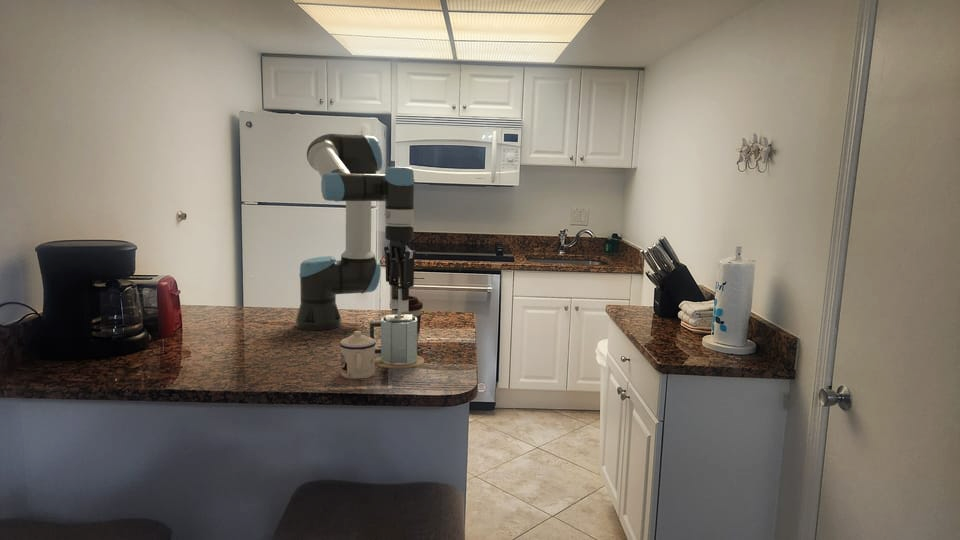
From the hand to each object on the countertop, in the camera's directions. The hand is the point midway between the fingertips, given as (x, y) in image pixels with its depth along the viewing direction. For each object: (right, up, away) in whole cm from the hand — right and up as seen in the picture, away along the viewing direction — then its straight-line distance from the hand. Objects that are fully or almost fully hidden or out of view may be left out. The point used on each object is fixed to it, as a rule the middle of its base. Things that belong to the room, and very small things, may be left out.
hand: (399, 309), depth 166 cm
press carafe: (-2, -14, +2) cm, 15 cm away
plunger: (0, -12, +2) cm, 12 cm away
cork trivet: (0, -15, +2) cm, 15 cm away
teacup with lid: (-9, -17, -10) cm, 22 cm away
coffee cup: (0, -12, +19) cm, 23 cm away
